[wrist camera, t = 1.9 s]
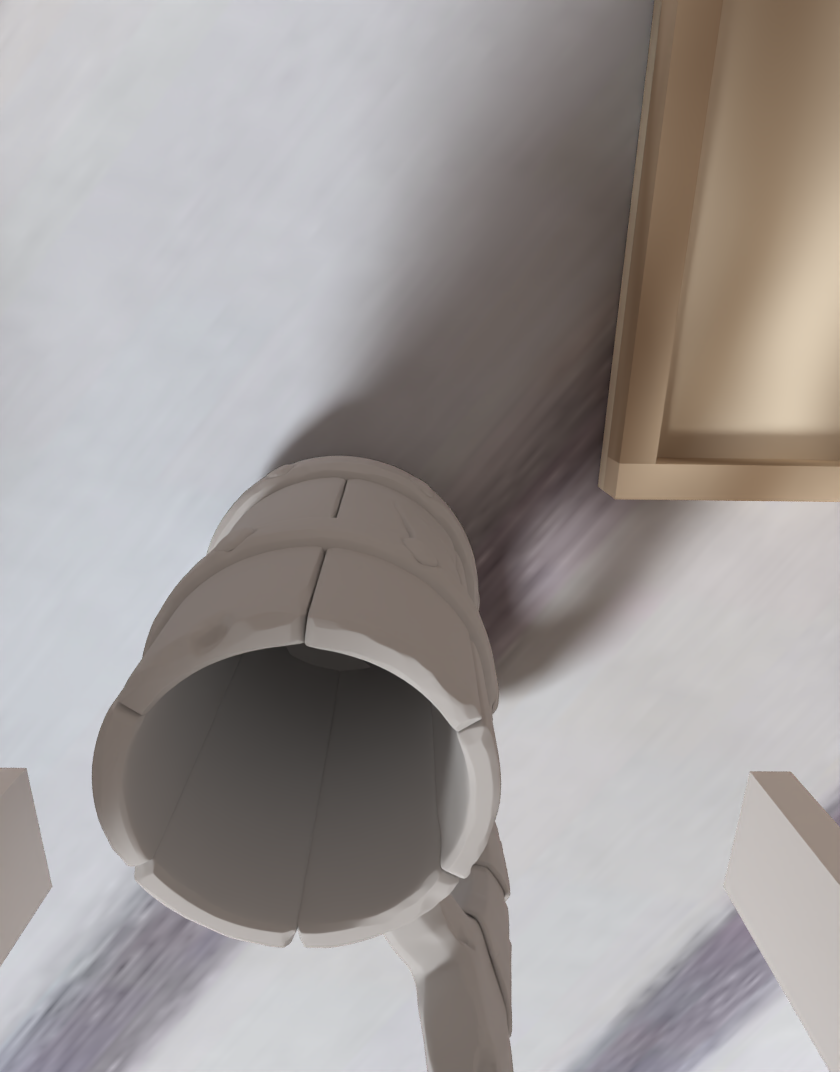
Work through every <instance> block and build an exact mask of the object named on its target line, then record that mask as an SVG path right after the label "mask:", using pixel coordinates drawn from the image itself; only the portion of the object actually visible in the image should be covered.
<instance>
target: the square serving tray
mask: <svg viewBox="0 0 840 1072" xmlns="http://www.w3.org/2000/svg"><path fill="white" fill-rule="evenodd" d="M598 487H599V488H601V489H602V490H603V491H605V492H606V493H607V494H609V495H610V496H611V497H613V498H614V499H638V500H725V501H812V502H840V0H654V9H653V17H652V26H651V35H650V43H649V52H648V60H647V69H646V77H645V86H644V95H643V103H642V112H641V120H640V129H639V137H638V146H637V155H636V163H635V172H634V180H633V189H632V197H631V206H630V215H629V223H628V232H627V240H626V249H625V258H624V266H623V275H622V283H621V292H620V300H619V309H618V318H617V326H616V335H615V343H614V352H613V360H612V369H611V378H610V386H609V395H608V403H607V412H606V420H605V429H604V438H603V446H602V455H601V463H600V472H599V480H598Z"/></svg>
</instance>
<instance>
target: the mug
mask: <svg viewBox="0 0 840 1072" xmlns="http://www.w3.org/2000/svg"><path fill="white" fill-rule="evenodd" d="M479 607H480V596H479V593H478V576H477V569H476V564H475V559H474V555H473V551H472V548H471V545H470V543H469V540H468V538H467V536H466V534H465V532H464V529H463V528H462V526H461V524H460V522H459V521H458V519H457V517H456V516H455V514H454V513H453V512H452V510H451V509H450V508H449V506H448V505H447V504H446V503H445V502H444V501H443V500H442V498H441V497H440V496H439V495H438V494H437V493H435V492H434V491H433V490H432V489H431V488H430V487H429V486H428V485H427V484H426V483H425V482H424V481H422V480H420V479H417V478H416V477H414V476H413V475H411V474H409V473H407V472H405V471H403V470H401V469H399V468H397V467H394V466H392V465H389V464H386V463H383V462H380V461H376V460H372V459H367V458H362V457H354V456H323V457H316V458H311V459H306V460H302V461H299V462H296V463H293V464H290V465H283V466H280V467H279V468H277V469H275V470H273V471H272V472H270V473H269V474H268V475H267V476H266V477H264V478H262V479H261V480H260V481H258V482H257V483H255V484H254V485H253V486H252V487H250V488H249V489H248V490H246V491H245V492H244V493H243V494H242V495H241V496H240V497H239V499H238V500H237V501H236V502H235V503H234V504H233V505H232V507H231V508H230V509H229V510H228V512H227V513H226V515H225V516H224V517H223V519H222V520H221V522H220V524H219V525H218V527H217V529H216V531H215V533H214V535H213V537H212V540H211V542H210V545H209V548H208V551H207V555H206V556H205V557H204V558H203V559H201V560H200V561H199V562H198V563H197V564H196V565H195V566H194V567H193V568H192V569H191V570H190V571H189V572H188V573H187V574H186V575H185V576H184V577H183V578H182V580H181V581H180V582H179V583H178V584H177V586H176V587H175V588H174V590H173V591H172V592H171V594H170V595H169V597H168V598H167V600H166V601H165V603H164V605H163V606H162V608H161V610H160V611H159V613H158V615H157V616H156V618H155V620H154V622H153V624H152V626H151V629H150V632H149V635H148V637H147V640H146V644H145V648H144V652H143V657H142V660H141V661H140V663H139V664H138V665H137V667H136V668H135V670H134V671H133V673H132V674H131V676H130V677H129V679H128V681H127V683H126V685H125V687H124V688H123V690H122V691H121V693H120V694H119V695H118V697H117V698H116V700H115V701H114V702H113V704H112V705H111V707H110V708H109V710H108V712H107V714H106V716H105V718H104V721H103V723H102V726H101V728H100V731H99V734H98V738H97V741H96V745H95V750H94V756H93V764H92V789H93V798H94V803H95V808H96V812H97V816H98V819H99V822H100V824H101V827H102V829H103V831H104V833H105V835H106V837H107V839H108V841H109V843H110V845H111V847H112V849H113V850H114V851H115V852H116V853H117V854H118V855H119V856H120V858H121V859H122V860H123V861H124V862H125V863H126V864H127V865H128V866H136V867H135V875H134V877H135V880H136V882H137V883H138V884H139V885H140V886H141V887H142V888H143V889H144V890H146V891H147V892H148V893H149V894H150V895H151V896H153V897H154V898H155V899H157V900H158V901H159V902H161V903H162V904H163V905H165V906H166V907H168V908H169V909H171V910H173V911H174V912H176V913H178V914H179V915H181V916H183V917H184V918H186V919H189V920H191V921H193V922H196V923H198V924H200V925H202V926H204V927H206V928H208V929H211V930H213V931H215V932H217V933H220V934H222V935H224V936H227V937H230V938H233V939H238V940H242V941H246V942H251V943H256V944H261V945H265V946H271V947H281V948H284V947H286V946H287V945H289V944H290V943H291V941H292V939H293V937H294V934H295V933H296V931H297V928H298V933H299V937H300V939H301V941H302V943H303V945H304V947H306V948H331V947H339V946H344V945H349V944H353V943H357V942H361V941H365V940H368V939H371V938H374V937H377V936H379V935H382V934H383V935H384V937H385V938H386V940H387V941H388V943H389V944H390V946H391V947H392V949H393V950H394V951H395V952H396V954H397V955H398V956H399V957H400V959H401V960H402V961H403V962H404V963H405V964H406V965H407V966H408V968H409V970H410V971H411V973H412V976H413V978H414V981H415V984H416V990H417V1001H418V1010H419V1016H420V1022H421V1028H422V1034H423V1040H424V1048H425V1056H426V1065H427V1072H513V1063H512V1054H511V1046H510V1040H509V1038H510V1036H511V1033H512V1008H511V949H512V947H511V942H510V940H509V915H508V908H507V905H506V903H505V901H506V900H507V899H508V898H509V896H510V885H509V878H508V873H507V868H506V863H505V858H504V854H503V848H502V843H501V841H500V838H499V833H498V829H497V826H496V823H495V819H496V816H497V812H498V809H499V804H500V795H501V772H500V762H499V755H498V749H497V744H496V738H495V733H494V728H493V722H492V721H493V717H492V714H493V713H494V712H495V711H496V709H497V707H498V700H499V685H498V681H497V676H496V671H495V664H494V658H493V653H492V649H491V645H490V642H489V639H488V636H487V632H486V630H485V627H484V624H483V622H482V619H481V617H480V615H479Z"/></svg>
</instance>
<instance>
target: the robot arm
mask: <svg viewBox="0 0 840 1072" xmlns="http://www.w3.org/2000/svg"><path fill="white" fill-rule="evenodd" d="M723 887H724V889H725V891H726V892H727V894H728V896H729V898H730V899H731V901H732V903H733V905H734V906H735V908H736V910H737V912H738V913H739V915H740V917H741V918H742V920H743V922H744V924H745V925H746V927H747V929H748V931H749V932H750V934H751V936H752V938H753V939H754V941H755V943H756V945H757V946H758V948H759V950H760V952H761V953H762V955H763V957H764V958H765V960H766V962H767V964H768V965H769V967H770V969H771V971H772V972H773V974H774V976H775V978H776V979H777V981H778V983H779V985H780V986H781V988H782V990H783V992H784V993H785V995H786V997H787V998H788V1000H789V1002H790V1004H791V1005H792V1007H793V1009H794V1011H795V1012H796V1014H797V1016H798V1018H799V1019H800V1021H801V1023H802V1025H803V1026H804V1028H805V1030H806V1032H807V1033H808V1035H809V1037H810V1038H811V1040H812V1042H813V1044H814V1045H815V1047H816V1049H817V1051H818V1052H819V1054H820V1056H821V1058H822V1059H823V1061H824V1063H825V1065H826V1066H827V1068H828V1070H829V1072H840V827H839V826H838V825H837V824H836V822H835V821H834V820H833V819H832V818H831V817H830V816H829V815H828V813H827V812H826V811H825V810H824V809H823V808H822V807H821V805H820V804H819V803H818V802H817V801H816V800H815V799H814V798H813V796H812V795H811V794H810V793H809V792H808V791H807V790H806V788H805V787H804V786H803V785H802V784H801V783H800V782H799V781H798V779H797V778H796V777H795V776H794V775H793V774H792V773H791V772H752V771H750V773H749V777H748V781H747V786H746V790H745V794H744V799H743V803H742V807H741V812H740V816H739V820H738V825H737V829H736V833H735V838H734V842H733V846H732V851H731V855H730V859H729V864H728V868H727V872H726V876H725V881H724V885H723ZM51 888H52V883H51V879H50V874H49V870H48V865H47V861H46V856H45V851H44V847H43V842H42V838H41V833H40V828H39V824H38V819H37V815H36V810H35V805H34V801H33V796H32V792H31V787H30V783H29V778H28V773H27V769H26V768H0V966H1V965H2V963H3V962H4V960H5V959H6V957H7V956H8V954H9V952H10V951H11V949H12V948H13V946H14V945H15V943H16V942H17V940H18V939H19V937H20V935H21V934H22V932H23V931H24V929H25V928H26V926H27V925H28V923H29V922H30V920H31V919H32V917H33V915H34V914H35V912H36V911H37V909H38V908H39V906H40V905H41V903H42V902H43V900H44V898H45V897H46V895H47V894H48V892H49V891H50V889H51Z"/></svg>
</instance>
